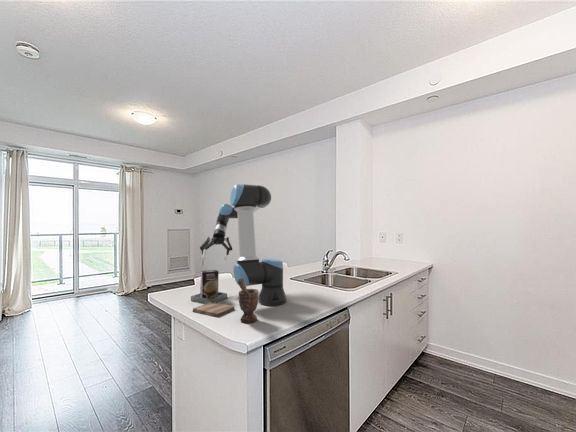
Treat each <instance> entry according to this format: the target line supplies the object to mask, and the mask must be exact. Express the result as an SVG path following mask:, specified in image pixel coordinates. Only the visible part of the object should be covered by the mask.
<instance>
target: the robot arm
mask: <svg viewBox="0 0 576 432" xmlns="http://www.w3.org/2000/svg"><path fill="white" fill-rule="evenodd" d="M271 201H272V194H271V191H270V190H269V189H268V188H267V187H265V186H264V185H254V184H243V183H242V184H239V183H238V184H234V185H233V186H232V189H231V192H230V197H229V202H230V204H229V203H224V204H222V205H221V206H220V208H219V211H218V215H217V218H216V223H215V226H214V231H213V235H212V237H210V236H208V237H207V239H205V241H204V242H203V243H202V244H201V245H200V246H199V250H200V251H201V259H202V260H203V261H204V260H205V258H206V253H207V250H209V249H210V248H211V247H212V246H214V245H221V246H223V247H224V249H225V252H224V255H223V256H224V257H223V258H224V260H225V261H227V257H228V255H230V251H233V246H232V244H231V242H230V238H229V236H228V237H226V232H227V227H228V223H229V221H230V219H237V229H238V231H237V232H238V233H237V234H238V248H239V249H238V250H239V252H238V253H239V256H238V258H237V260H236V263H235V264H234V265H233V271H232V272H233V275H234V277H233V278H234V280H235V282H236V284H237V285H238V286H239V284H238V280H239V279H241V278H242V279H244V280H245V283H246V287H250V286H257V285H261V290H260V292H259V294H258V304H260V305H262V306H267V307H268V306H269V307H270V306H271V307H272V306H280V305H284V304H285V303H287V296H286V292H285V290H284V265H283V262H282V260H280V259H275V258H262V259H261V261H260V258H259V257H258V256H257V252H256V250H257V249H256V237H255V236H256V234H255V220H254V219H255V217H254V213H255V212H256V211H258V210H260V209H264V208H266V207H267V206H268V205H270V203H271ZM225 237H226V238H225ZM225 242H227V244H226V243H225Z"/></svg>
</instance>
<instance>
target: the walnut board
mask: <svg viewBox="0 0 576 432" xmlns="http://www.w3.org/2000/svg"><path fill="white" fill-rule="evenodd" d="M234 310H235V306H234V305H228V304H225V303H219V302H218V303H217V302H215V303H214V302H209V303H207V304H204V303H203V304H201V305H198V306H196V307H193V308H192V312H193V313H199V314H202V315H207V316H211V317H216V318H219V317H221V316H223V315H225V314H228V313H229V312H230V313H231V312H232V311H234Z"/></svg>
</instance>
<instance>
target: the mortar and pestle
mask: <svg viewBox="0 0 576 432" xmlns="http://www.w3.org/2000/svg"><path fill="white" fill-rule="evenodd" d="M238 284H239V285H238ZM238 284H237V285H238V286H239V287H240V290H239V291H238V303H239V304H238V305H239V308H240V310H241V311H242V312H243V314H242V315H241V317H240V319H239V321H240V322H242V323H244V324H253V323H256V322H257V321H258V317H257V315H256V314H255V311H256V310H257V307H258V304H259V290H258V289H256V288H247V286H246V283H245V280H244V279H242V278H241V279H239V280H238Z"/></svg>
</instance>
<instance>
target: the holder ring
mask: <svg viewBox="0 0 576 432" xmlns="http://www.w3.org/2000/svg"><path fill="white" fill-rule="evenodd" d="M227 298H228V293H226V292H221V291H218V296H217V297H214V298H211V299H207V298H201V297H200V293H197V294H194V295H191V296H190V301H191V302H195V303H199V304H200V303H201V304H203V305H204V304H207V303H209V302H214V303H217V302H221V301H222V300H225V299H227Z"/></svg>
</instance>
